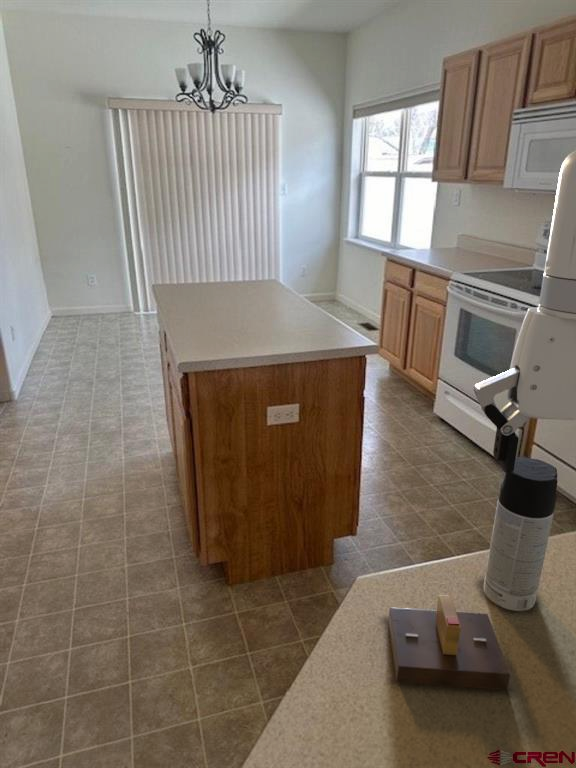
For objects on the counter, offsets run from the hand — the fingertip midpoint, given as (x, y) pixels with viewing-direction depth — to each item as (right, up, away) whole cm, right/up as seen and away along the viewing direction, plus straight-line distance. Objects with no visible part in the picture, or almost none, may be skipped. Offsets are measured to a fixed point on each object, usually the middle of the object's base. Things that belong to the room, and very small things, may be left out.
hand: (553, 468), depth 53 cm
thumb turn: (-8, -21, +9) cm, 24 cm away
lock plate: (-8, -24, +10) cm, 27 cm away
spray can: (+4, -21, +20) cm, 29 cm away
